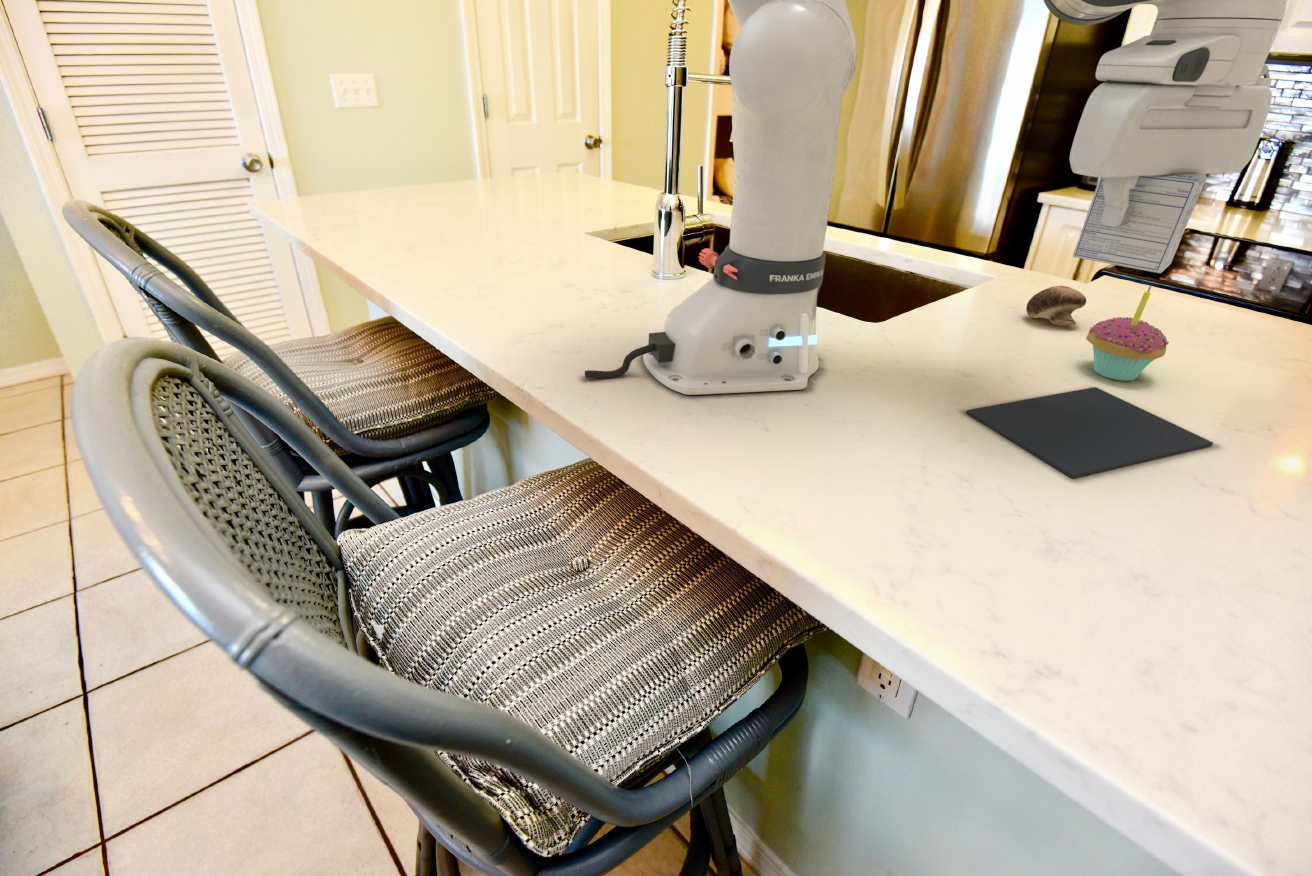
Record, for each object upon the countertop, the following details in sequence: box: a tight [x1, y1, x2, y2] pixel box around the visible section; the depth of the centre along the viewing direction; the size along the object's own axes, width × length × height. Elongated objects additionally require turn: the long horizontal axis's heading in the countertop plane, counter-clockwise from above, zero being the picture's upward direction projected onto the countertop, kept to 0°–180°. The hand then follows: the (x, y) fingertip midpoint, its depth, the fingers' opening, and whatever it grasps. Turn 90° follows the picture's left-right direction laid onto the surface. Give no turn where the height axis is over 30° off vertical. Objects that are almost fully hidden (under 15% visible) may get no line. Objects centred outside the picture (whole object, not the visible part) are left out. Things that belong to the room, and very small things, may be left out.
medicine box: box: [1072, 174, 1207, 274], centre depth 65 cm, size 8×4×9 cm, turn 46°
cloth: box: [965, 386, 1214, 479], centre depth 72 cm, size 20×14×1 cm
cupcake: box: [1086, 285, 1170, 382], centre depth 83 cm, size 9×8×12 cm
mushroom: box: [1025, 285, 1087, 327], centre depth 100 cm, size 8×8×6 cm
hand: (1138, 223), depth 65 cm, fingers closed on medicine box, 6 cm apart
